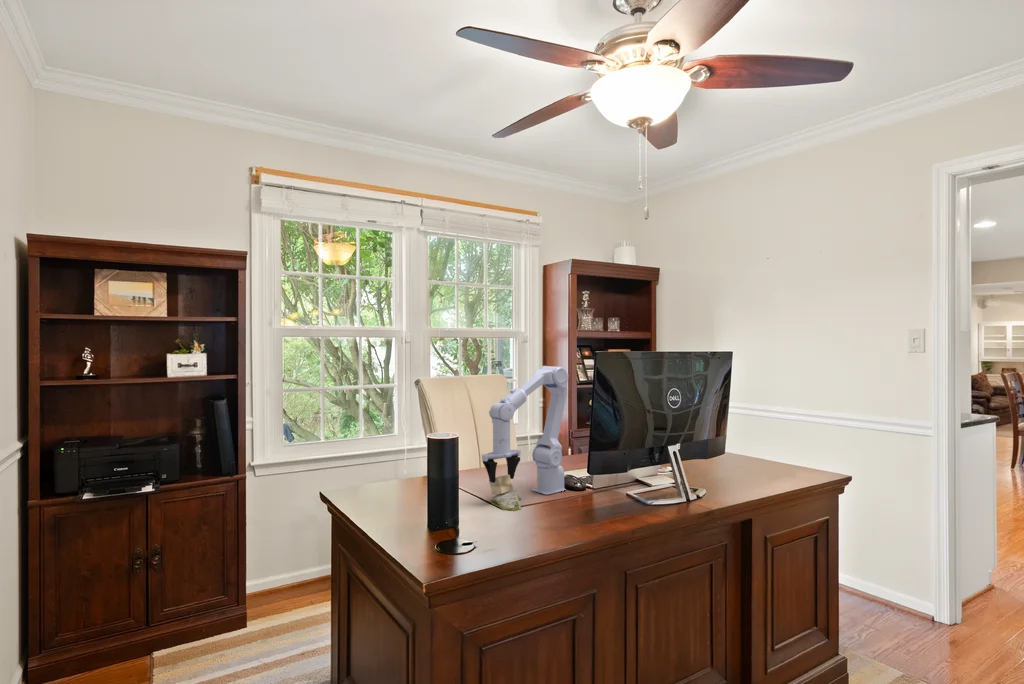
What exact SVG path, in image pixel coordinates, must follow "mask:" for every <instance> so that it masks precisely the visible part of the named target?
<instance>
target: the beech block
mask: <svg viewBox="0 0 1024 684" xmlns="http://www.w3.org/2000/svg"><path fill="white" fill-rule="evenodd" d="M488 481H489V487H490V490H491V495H492V496H496V495H498V494H502V493H505V492H508V491H514V487H513V482H512V479H510V475H508V474H505V475H500V476H496V478H495V483H492V482H490V480H489V479H488Z"/></svg>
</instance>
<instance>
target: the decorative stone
mask: <svg viewBox="0 0 1024 684" xmlns="http://www.w3.org/2000/svg"><path fill="white" fill-rule="evenodd" d="M521 501H522V499H521V497H520V496H519V493H518V491H516V490H511V491H508V492H505V493H502V494H495V495H494V497H492V499H491V502H492V503H491V502H490V503H491V504H492V505H493V506H496V507H498V508H500V509H501V510H502V511H506V512H512V511H513V512H514V513H515V512H518V511H522V508H521V506H522V505H521Z"/></svg>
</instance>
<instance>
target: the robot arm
mask: <svg viewBox="0 0 1024 684" xmlns="http://www.w3.org/2000/svg"><path fill="white" fill-rule="evenodd" d="M568 380H569V374H568V372H567V370H566V369H565V367H563V366H551V365H550V366H549V365H542V366H540V367H539V368H538V369H536V370H535V373H534V375H532V377H530V378H529V379H528V380H527V381H526V382H525V383H524V384H523V385H522V386H521V387H520V388H511V389H510V390H509V393H508V394H507V395H506V396H504V397H502V398H501V399H500V401H499V402H498V401H497V402H494V403H493V404H492V405H491V407H490V409H489V411H488V413H489V414H488V415H489V417H490V418H491V423H492V451H491V452H488V453H485V454H481V461H482V463H483V465H484V468H485V470H486V472H487V475H488V481H489V480H490V482H492V483H495V478H496V477H497V476H496V474H497V473H496V472H497V467H498V462H496V461H495V460H500V459H501V460H502V459H505V461H506V465H507V475H510V479H511V480H514V478H515V473H516V470H517V467H518V464H519V463H520V462H521V456H522V455H521V451H522V450H521V449H511V420H512V419H513V417H514V415H515V413H516V411H517V410H518V409H519V408H520V407H522V406H523V404H525V403H526V402H527V397H528V396H529V395H530V394H532V393H533V392H534V391H536V390H538V389H539V387H541V386H542V385H543V387H545V388H546V389H548V391H549V392H550V398H549V403H548V407H547V414H546V418H545V423H544V427H543V428H544V429H543V432H542V436H541V437H540V438H539V439H538V440H537V441H536V444H535V447H534V448H533V450H532V454H531V456H532V460H533V461H534V462H535V465H536V488H532V489H531V491H532V492H536V493H539V494H542V495H544V496H548V495H552V494H556V493H561V491H562V492H565V491H564V490H566V491H567V489H566V488H565V470H564V467H563V466H562V465H560V464H561V462H562V459H563V454H562V453H563V452H562V451H563V446H562V445H561V443H560V441H559V440H558V439H559V435H560V430H561V426H562V425H561V424H562V421H563V415H564V410H565V404H566V401H567V400H566V399H567V396H568Z"/></svg>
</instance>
